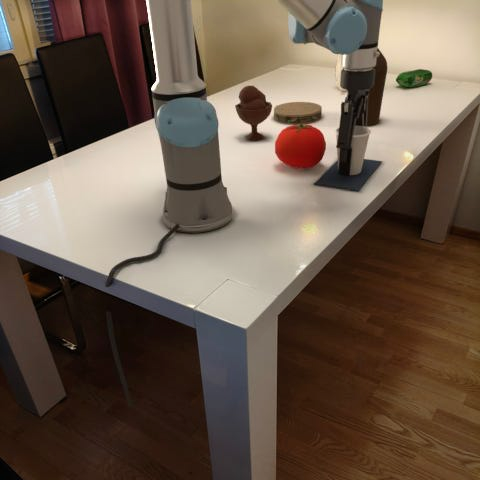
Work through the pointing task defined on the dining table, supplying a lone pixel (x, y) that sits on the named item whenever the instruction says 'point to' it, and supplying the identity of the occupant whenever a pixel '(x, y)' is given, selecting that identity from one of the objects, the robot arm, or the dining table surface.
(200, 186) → the robot arm
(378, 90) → the olive oil
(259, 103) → the ice cream bowl
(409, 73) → the snack package
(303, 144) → the tomato
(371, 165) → the placemat
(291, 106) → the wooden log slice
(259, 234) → the dining table surface
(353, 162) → the dixie cup
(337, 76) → the pitcher
